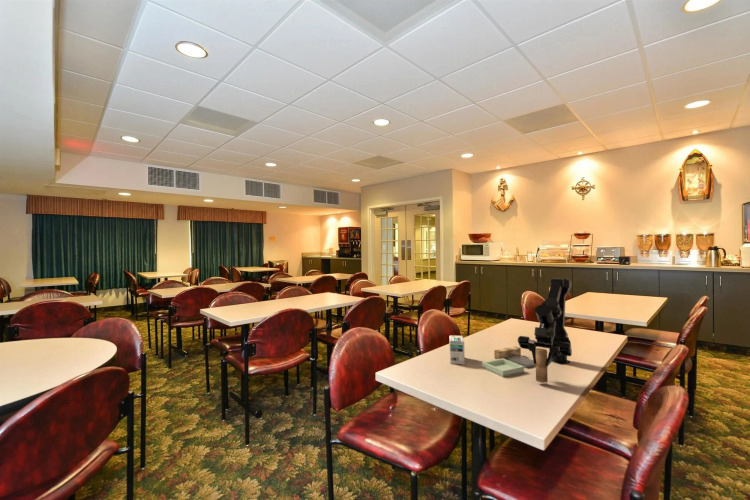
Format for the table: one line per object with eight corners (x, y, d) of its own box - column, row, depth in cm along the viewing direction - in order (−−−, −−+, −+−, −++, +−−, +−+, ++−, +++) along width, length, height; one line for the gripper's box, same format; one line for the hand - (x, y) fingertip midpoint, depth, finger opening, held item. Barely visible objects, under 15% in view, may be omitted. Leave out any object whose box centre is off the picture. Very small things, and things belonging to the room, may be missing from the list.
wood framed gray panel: (517, 358, 159) (517, 354, 159) (538, 366, 148) (538, 362, 148) (505, 361, 156) (505, 357, 156) (525, 369, 145) (525, 364, 145)
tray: (502, 363, 150) (502, 358, 150) (524, 372, 139) (524, 366, 139) (482, 367, 146) (482, 362, 146) (502, 377, 135) (502, 371, 135)
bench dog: (515, 354, 164) (515, 346, 164) (520, 356, 161) (520, 348, 161) (494, 358, 158) (494, 350, 158) (499, 360, 155) (499, 351, 155)
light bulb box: (464, 364, 150) (464, 341, 150) (449, 363, 151) (449, 340, 151) (463, 357, 161) (463, 335, 161) (449, 356, 162) (449, 334, 162)
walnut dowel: (540, 377, 130) (540, 347, 130) (549, 381, 126) (549, 350, 126) (533, 379, 128) (533, 349, 128) (542, 383, 124) (542, 352, 124)
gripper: (518, 316, 136) (510, 349, 127) (570, 322, 124) (565, 358, 115) (524, 331, 142) (517, 363, 133) (573, 338, 130) (569, 374, 122)
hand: (540, 364), depth 126 cm, fingers closed on walnut dowel, 4 cm apart
